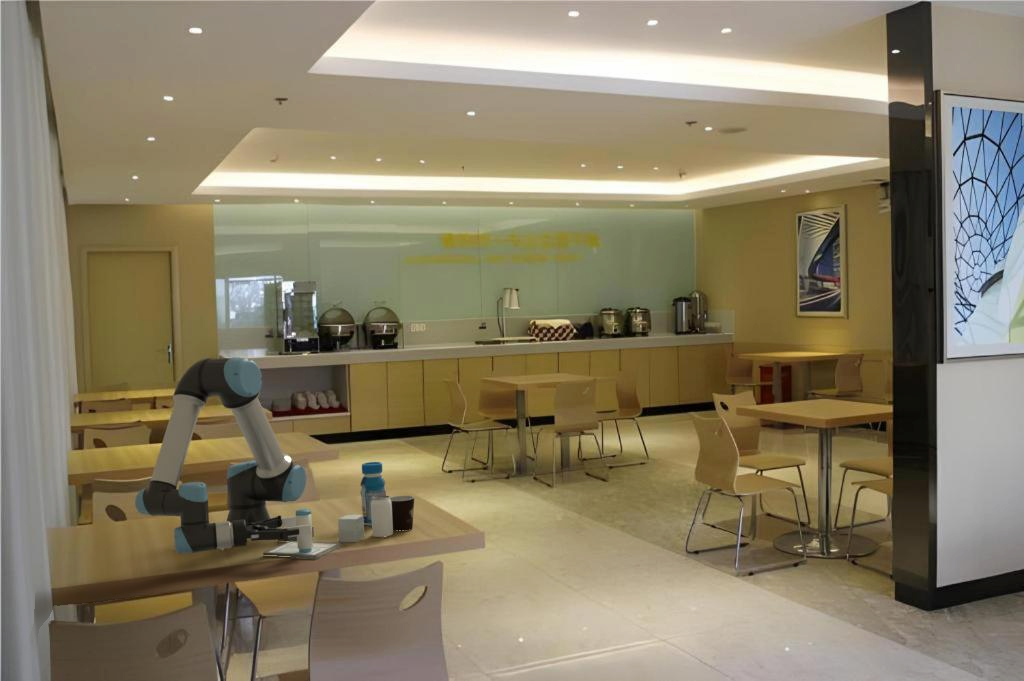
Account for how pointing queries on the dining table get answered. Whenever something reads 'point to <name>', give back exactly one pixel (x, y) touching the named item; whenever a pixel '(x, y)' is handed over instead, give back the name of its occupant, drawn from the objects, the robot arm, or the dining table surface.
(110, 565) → the dining table surface
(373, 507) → the can
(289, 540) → the button box
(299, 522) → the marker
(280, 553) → the picture board
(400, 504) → the coffee mug
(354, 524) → the product box
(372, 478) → the beverage bottle
